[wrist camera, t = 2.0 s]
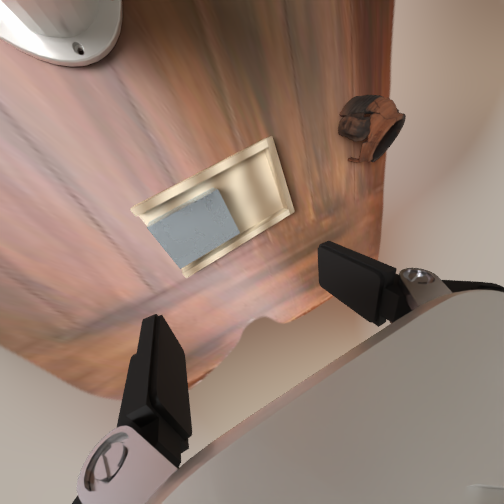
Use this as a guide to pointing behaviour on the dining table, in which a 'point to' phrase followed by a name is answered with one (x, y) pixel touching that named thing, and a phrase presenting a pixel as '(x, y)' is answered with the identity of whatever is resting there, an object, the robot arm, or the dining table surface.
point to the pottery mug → (371, 125)
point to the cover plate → (194, 227)
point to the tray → (232, 196)
